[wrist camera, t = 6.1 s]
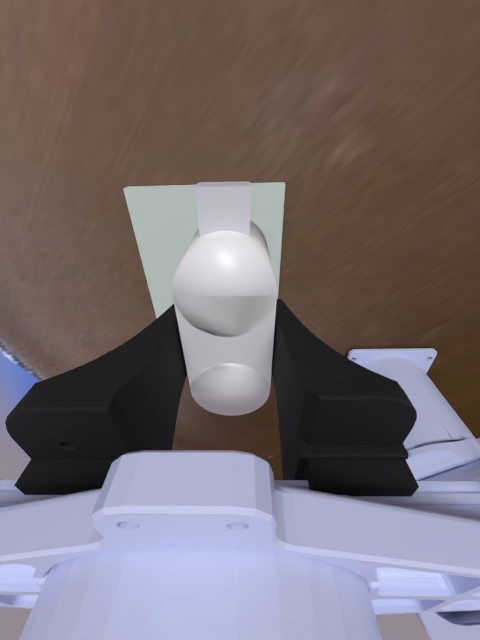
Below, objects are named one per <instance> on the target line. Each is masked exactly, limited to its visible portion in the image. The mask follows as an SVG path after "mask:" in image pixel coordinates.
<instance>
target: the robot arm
mask: <svg viewBox="0 0 480 640" xmlns="http://www.w3.org/2000/svg"><path fill="white" fill-rule="evenodd" d="M436 355H437V351H436V350H435V349H433V348H415V349H353V350H351V351H349V353H348V355H347V358H346V357H345V356H343V355H341V354H340V353H338V352H337V351H335V350H333V349H332V348H331V347H329V346H328V345H326V344H325V343H324V342H322V341H321V340H320V339H318V338H317V337H316V336H315V335H314V334H313V333H311V332H310V331H309V330H308V329H307V328H306V327H305V326H304V325H303V324H302V323H301V322H300V321H299V320H298V319H297V317H296V316H295V315H294V314H293V313H292V312H291V310H290V309H289V308H288V307H287V306H286V304H285V303H284V302H283V301H282V300H281V299H277V301H276V315H275V328H274V342H273V355H272V369H271V372H272V377H273V381H274V386H275V392H276V398H277V407H278V418H279V430H280V441H281V454H282V467H283V480H274V479H273V472H272V469H271V467H270V465H269V463H268V462H267V461H265V460H264V459H262V458H260V457H258V456H256V455H254V454H253V453H247V452H240V451H216V450H172V444H173V437H174V431H175V425H176V418H177V413H178V407H179V401H180V397H181V392H182V389H183V385H184V382H185V378H186V375H187V369H186V363H185V358H184V353H183V347H182V342H181V337H180V332H179V326H178V321H177V316H176V311H175V305H174V304H173V305H172V306H170V307H169V308H168V309H167V310H166V311H165V312H164V313H163V314H162V315H161V316H159V317H158V318H157V319H156V320H155V321H154V322H152V323H151V324H150V325H149V326H147V327H146V328H145V329H144V330H142V331H141V332H140V333H139V334H137V335H136V336H134V337H133V338H131V339H130V340H128V341H127V342H125V343H124V344H122V345H121V346H119V347H117V348H116V349H114V350H112V351H110V352H108V353H106V354H104V355H103V356H101V357H99V358H97V359H95V360H93V361H91V362H89V363H86V364H84V365H82V366H80V367H77V368H75V369H73V370H70V371H68V372H65V373H63V374H60V375H57V376H54V377H52V378H49V379H46V380H43V381H40V382H38V383H35V384H34V385H33V386H32V388H31V389H30V390H29V391H28V392H27V394H26V395H25V396H24V397H23V398H22V400H21V401H20V402H19V403H18V404H17V405H16V407H15V408H14V409H13V410H12V411H11V413H10V414H9V415H8V416H7V419H6V422H5V423H6V428H7V431H8V433H9V434H10V436H11V437H12V438H13V439H14V440H15V441H16V443H17V444H18V445H19V446H20V447H21V448H22V449H23V450H24V451H25V452H26V453H27V454H28V456H29V457H30V458H31V461H30V462H29V464H28V465H27V467H26V468H25V470H24V471H23V473H22V474H21V476H20V478H19V479H0V607H14V608H29V609H33V610H32V612H31V614H30V616H29V618H28V621H27V623H26V625H25V628H24V630H23V632H22V634H21V637H20V639H19V640H382V638H381V634H380V630H379V627H378V623H377V620H376V616H375V615H380V614H401V613H402V614H403V613H416V614H417V616H418V618H419V620H420V622H421V624H422V626H423V628H424V630H425V631H426V632H427V634H428V636H429V639H430V640H480V444H479V443H478V441H477V440H476V439H475V437H474V436H473V435H472V433H471V432H470V431H469V429H468V428H467V427H466V426H465V424H464V423H463V422H462V420H461V419H460V418H459V416H458V415H457V414H456V413H455V411H454V410H453V409H452V407H451V406H450V405H449V403H448V402H447V401H446V399H445V398H444V397H443V396H442V394H441V393H440V392H439V390H438V389H437V388H436V386H435V385H434V384H433V383H432V381H431V380H430V379H429V377H428V376H427V375H426V373H427V371H428V369H429V368H430V366H431V364H432V362H433V360H434V358H435V357H436ZM352 358H353V359H352Z"/></svg>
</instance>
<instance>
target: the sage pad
mask: <svg viewBox="0 0 480 640" xmlns="http://www.w3.org/2000/svg"><path fill="white" fill-rule="evenodd" d="M195 186H196V185H169V186H135V187H126V188H124V189H123V190H124V193H125V197H126V201H127V205H128V209H129V213H130V217H131V221H132V225H133V228H134V232H135V236H136V240H137V244H138V248H139V252H140V256H141V260H142V264H143V267H144V271H145V275H146V279H147V283H148V287H149V291H150V295H151V299H152V302H153V306H154V310H155V314H156V318H158V317H159V316H161V315H162V314H163V313H164V312H165V311H166V310H167V309H168V308H169V307H170V306H172V305H173V304H174V300H173V294H172V284H173V279H174V276H175V273H176V271H177V269H178V267H179V265H180V263H181V261H182V259H183V257H184V255H185V253H186V251H187V249H188V247H189V245H190V243H191V241H192V239H193V237H194V235H195V233H196V231H197V230H198V228H199V225H198V215H197V206H196V196H195ZM284 197H285V183H284V182H274V183H250V220H251V221H253V222H254V223H255V224H256V225H257V226H258V227H259V228H260V229H261V231H262V232H263V234H264V236H265V238H266V241H267V245H268V250H269V254H270V259H271V263H272V268H273V273H274V277H275V282H276V287H277V299H278V289H279V273H280V258H281V243H282V227H283V212H284Z"/></svg>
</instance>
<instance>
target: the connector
mask: <svg viewBox="0 0 480 640" xmlns="http://www.w3.org/2000/svg"><path fill="white" fill-rule="evenodd" d="M195 196H196V206H197V215H198V225H199V228H198V230H197V231H196V233H195V235H194V237H193V239H192V241H191V243H190V245H189V247H188V249H187V251H186V253H185V255H184V257H183V259H182V261H181V263H180V265H179V267H178V269H177V271H176V273H175V276H174V279H173V284H172V294H173V300H174V305H175V311H176V316H177V321H178V326H179V332H180V337H181V342H182V347H183V353H184V358H185V363H186V369H187V374H188V379H189V384H190V390H191V394H192V396H193V398H194V400H195V401H196V402H197V403H198V404H199V405H200V406H201V407H203V408H204V409H206V410H208V411H210V412H213V413H216V414H220V415H228V416H236V415H243V414H247V413H250V412H253V411H255V410H257V409H258V408H260V407H261V406H262V405H263V404H264V403H265V402H266V401H267V399H268V397H269V394H270V383H271V369H272V355H273V342H274V328H275V315H276V301H277V287H276V282H275V277H274V273H273V268H272V263H271V259H270V254H269V250H268V245H267V241H266V238H265V236H264V234H263V232H262V231H261V229H260V228H259V227H258V226H257V225H256V224H255V223H254V222H253V221H251V220H250V182H199V183H198V184H197V185H196V186H195Z"/></svg>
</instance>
